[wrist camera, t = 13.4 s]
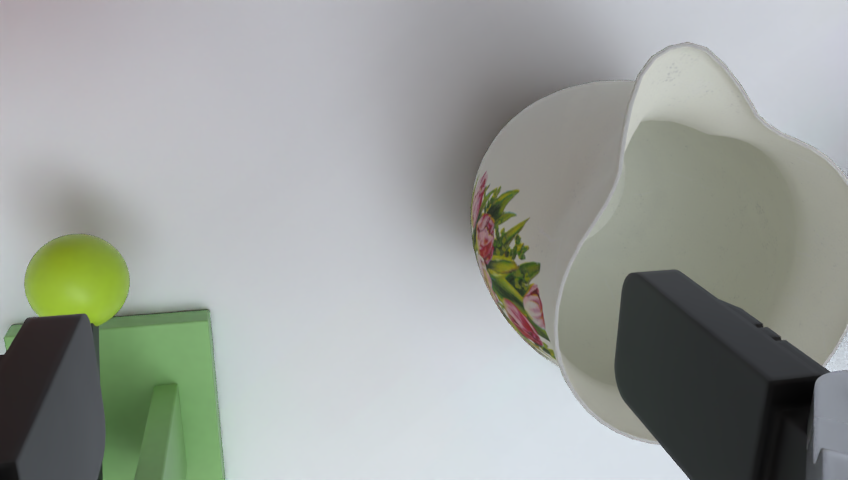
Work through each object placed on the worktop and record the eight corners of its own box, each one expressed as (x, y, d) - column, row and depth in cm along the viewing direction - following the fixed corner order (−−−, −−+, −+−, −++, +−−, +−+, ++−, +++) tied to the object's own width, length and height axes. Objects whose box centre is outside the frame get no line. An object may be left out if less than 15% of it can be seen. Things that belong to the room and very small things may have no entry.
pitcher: (508, 402, 39) (633, 615, 27) (384, 58, 32) (473, 125, 20) (706, 317, 40) (919, 484, 28) (626, -37, 33) (860, -31, 21)
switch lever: (39, 246, 30) (10, 227, 26) (135, 241, 30) (118, 221, 27) (44, 620, 27) (13, 651, 24) (148, 605, 28) (131, 632, 25)
